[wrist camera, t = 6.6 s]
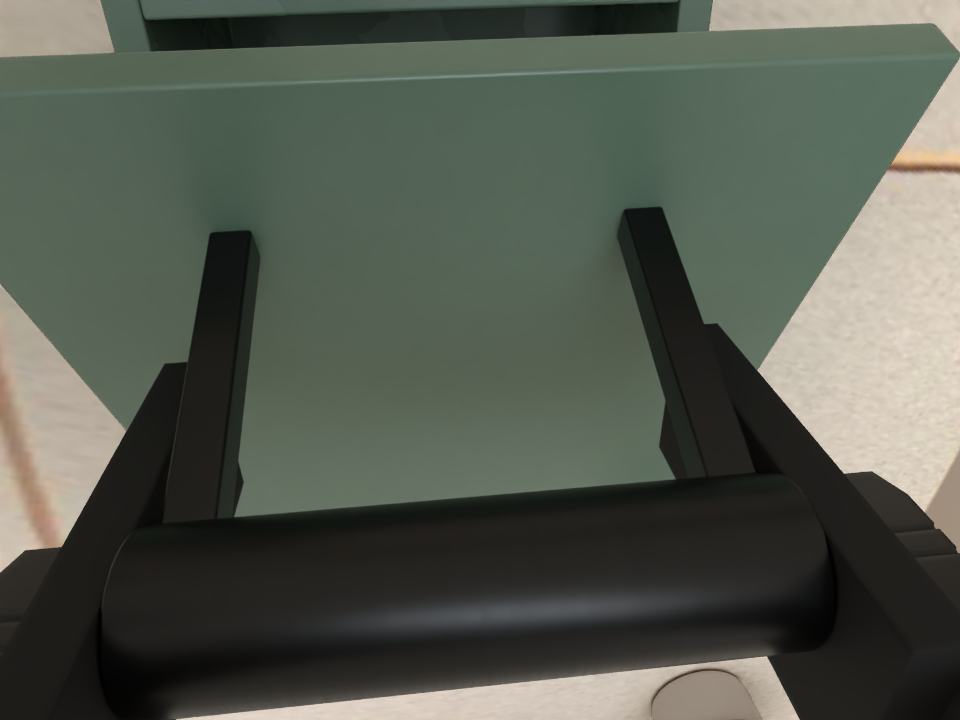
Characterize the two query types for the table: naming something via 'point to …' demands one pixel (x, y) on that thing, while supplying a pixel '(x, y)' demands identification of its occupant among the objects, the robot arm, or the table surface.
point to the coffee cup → (705, 699)
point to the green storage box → (383, 21)
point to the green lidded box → (447, 342)
